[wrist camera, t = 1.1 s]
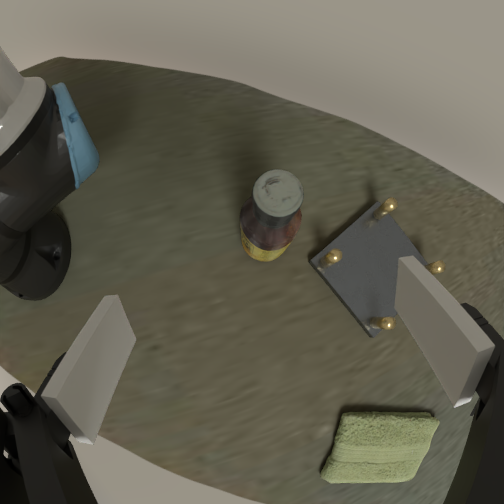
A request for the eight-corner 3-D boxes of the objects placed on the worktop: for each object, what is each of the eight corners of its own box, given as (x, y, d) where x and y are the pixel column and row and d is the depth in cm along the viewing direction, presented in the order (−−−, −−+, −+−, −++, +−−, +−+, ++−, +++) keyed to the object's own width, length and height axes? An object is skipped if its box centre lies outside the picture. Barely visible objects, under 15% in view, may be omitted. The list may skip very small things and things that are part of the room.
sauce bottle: (244, 217, 44) (243, 145, 24) (288, 222, 44) (319, 154, 24) (238, 263, 43) (232, 221, 23) (284, 268, 43) (315, 230, 23)
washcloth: (410, 477, 36) (418, 485, 33) (315, 477, 37) (320, 487, 34) (435, 410, 39) (445, 415, 36) (340, 403, 39) (347, 409, 36)
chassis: (308, 262, 43) (319, 253, 36) (374, 204, 45) (391, 188, 38) (369, 337, 41) (388, 340, 34) (428, 273, 43) (452, 267, 36)
